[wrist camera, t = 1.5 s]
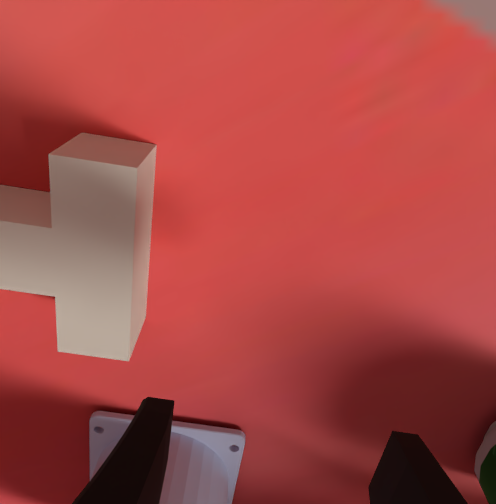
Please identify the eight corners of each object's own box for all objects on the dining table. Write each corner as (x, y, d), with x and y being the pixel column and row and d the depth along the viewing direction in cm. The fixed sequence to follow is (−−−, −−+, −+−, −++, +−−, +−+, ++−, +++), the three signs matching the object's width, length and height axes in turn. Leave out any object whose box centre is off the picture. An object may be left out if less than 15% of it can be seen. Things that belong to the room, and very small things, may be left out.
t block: (146, 317, 21) (128, 361, 18) (-28, 292, 20) (-72, 333, 18) (156, 144, 17) (137, 168, 14) (-56, 110, 17) (-115, 128, 14)
